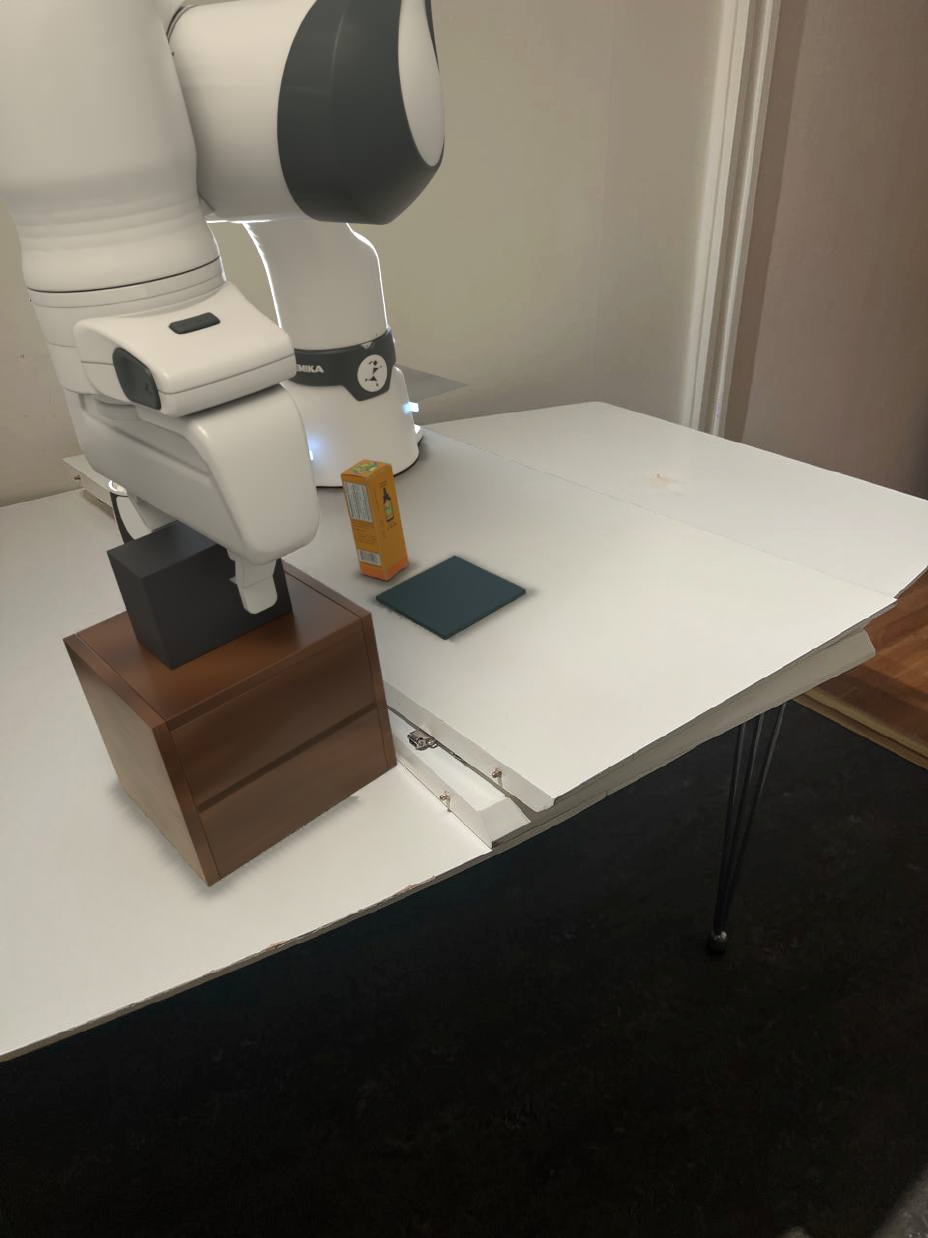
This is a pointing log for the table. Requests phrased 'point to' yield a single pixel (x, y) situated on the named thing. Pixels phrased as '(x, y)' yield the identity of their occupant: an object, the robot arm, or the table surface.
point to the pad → (450, 596)
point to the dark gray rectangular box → (185, 594)
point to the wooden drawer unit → (242, 724)
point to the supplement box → (375, 518)
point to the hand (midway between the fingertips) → (213, 577)
